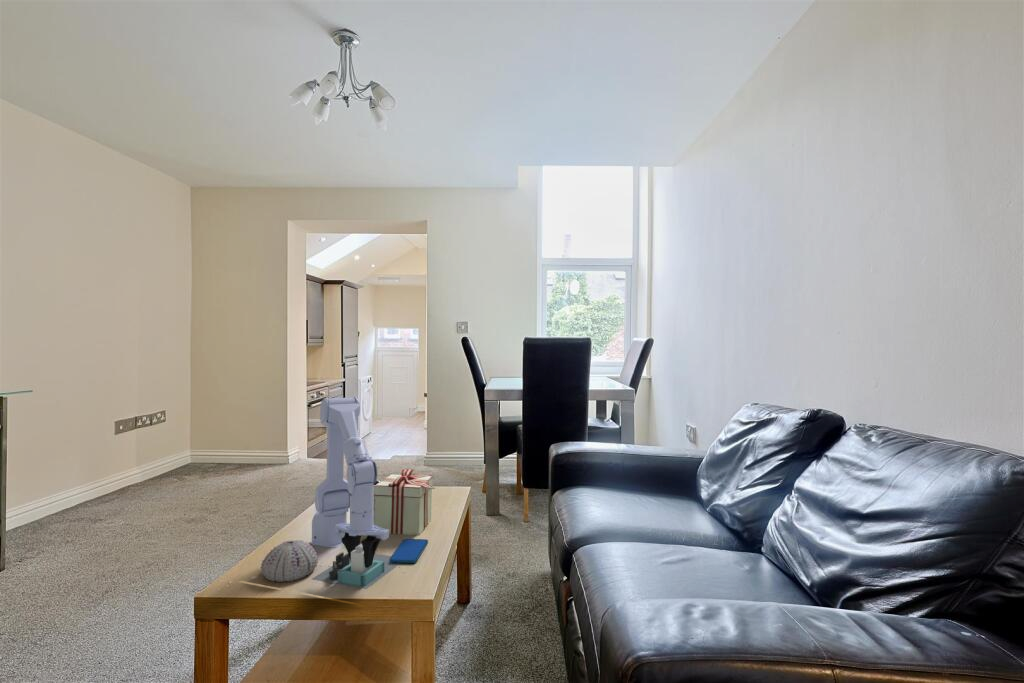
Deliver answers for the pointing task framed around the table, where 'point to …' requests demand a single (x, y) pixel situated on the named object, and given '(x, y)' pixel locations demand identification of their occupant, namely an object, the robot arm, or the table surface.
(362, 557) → the connector plug
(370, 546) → the robot arm
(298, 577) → the sea urchin shell
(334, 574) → the board
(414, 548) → the smartphone
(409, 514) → the gift box
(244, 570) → the table surface
